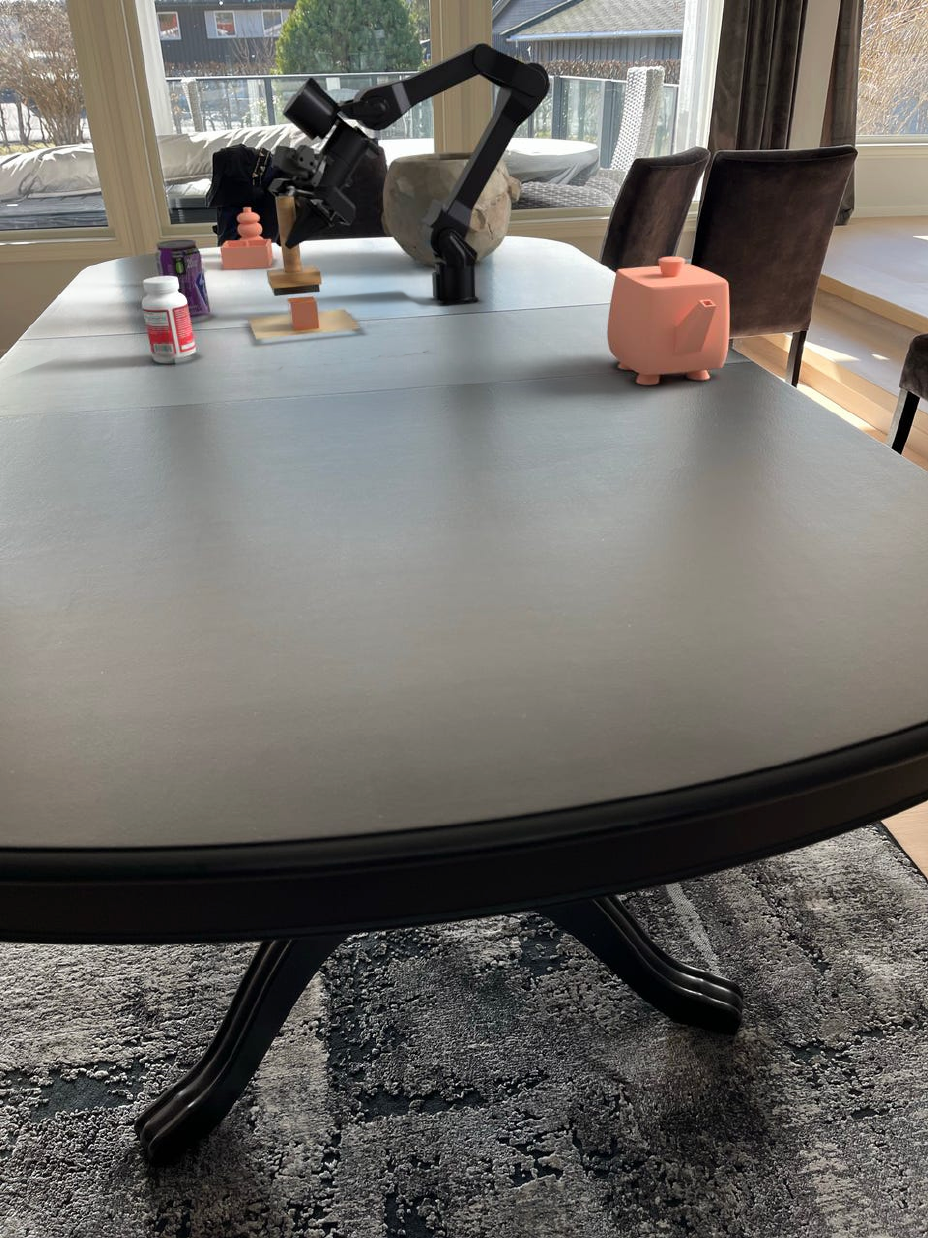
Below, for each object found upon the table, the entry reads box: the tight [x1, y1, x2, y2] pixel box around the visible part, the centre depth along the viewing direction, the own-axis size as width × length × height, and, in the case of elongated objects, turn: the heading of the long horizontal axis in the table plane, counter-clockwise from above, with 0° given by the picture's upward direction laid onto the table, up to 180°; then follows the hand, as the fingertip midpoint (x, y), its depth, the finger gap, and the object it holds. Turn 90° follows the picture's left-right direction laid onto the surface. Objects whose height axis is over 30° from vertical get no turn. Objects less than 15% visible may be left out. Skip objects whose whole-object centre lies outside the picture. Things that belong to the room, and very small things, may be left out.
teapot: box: [606, 256, 730, 386], centre depth 120 cm, size 22×13×14 cm, turn 12°
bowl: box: [380, 151, 522, 268], centre depth 188 cm, size 27×29×20 cm
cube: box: [286, 295, 319, 331], centre depth 145 cm, size 4×4×4 cm
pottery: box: [220, 206, 274, 271], centre depth 200 cm, size 18×10×10 cm, turn 5°
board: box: [247, 308, 361, 340], centre depth 149 cm, size 16×14×1 cm
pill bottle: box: [141, 275, 197, 365], centre depth 133 cm, size 6×6×11 cm
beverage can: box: [155, 238, 211, 319], centre depth 155 cm, size 7×7×12 cm
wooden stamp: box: [265, 196, 323, 297], centre depth 148 cm, size 8×5×14 cm, turn 106°
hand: (282, 245), depth 147 cm, fingers closed on wooden stamp, 3 cm apart
